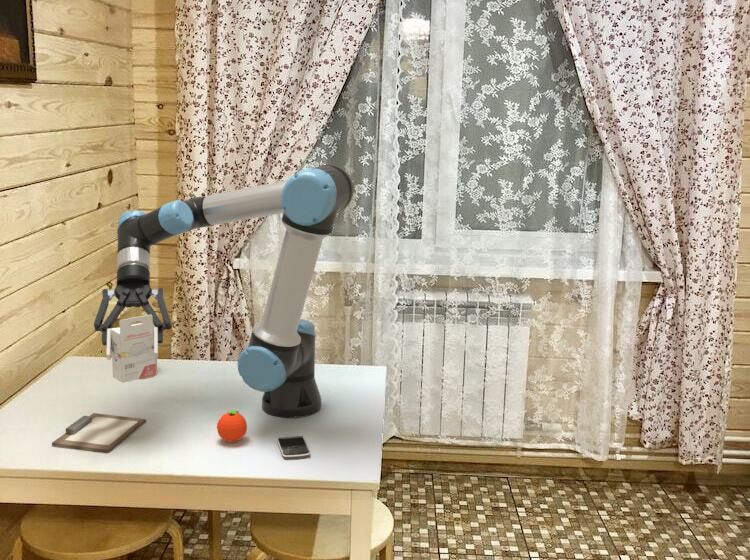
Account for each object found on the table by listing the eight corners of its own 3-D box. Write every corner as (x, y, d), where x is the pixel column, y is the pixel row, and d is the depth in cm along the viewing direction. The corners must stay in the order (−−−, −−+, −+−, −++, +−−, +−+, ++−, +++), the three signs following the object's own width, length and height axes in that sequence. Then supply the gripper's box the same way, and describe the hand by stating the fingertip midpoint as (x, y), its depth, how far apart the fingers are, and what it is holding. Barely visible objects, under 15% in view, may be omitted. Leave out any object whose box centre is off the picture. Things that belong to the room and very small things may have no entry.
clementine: (224, 431, 206) (224, 403, 205) (252, 434, 205) (252, 406, 203) (212, 445, 199) (212, 416, 197) (241, 448, 197) (241, 419, 196)
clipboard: (145, 422, 210) (145, 413, 210) (108, 453, 193) (108, 443, 193) (93, 416, 213) (92, 407, 213) (52, 446, 196) (51, 437, 196)
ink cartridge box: (145, 369, 203) (144, 309, 199) (156, 375, 199) (154, 314, 195) (111, 377, 197) (109, 315, 193) (121, 383, 193) (119, 320, 190)
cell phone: (283, 462, 192) (283, 456, 192) (276, 441, 202) (276, 436, 202) (310, 460, 194) (311, 454, 193) (302, 439, 204) (302, 434, 204)
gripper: (181, 278, 210) (183, 361, 199) (85, 280, 205) (82, 365, 194) (181, 261, 204) (183, 347, 193) (82, 263, 199) (78, 350, 188)
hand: (132, 356), depth 194 cm, fingers closed on ink cartridge box, 9 cm apart
